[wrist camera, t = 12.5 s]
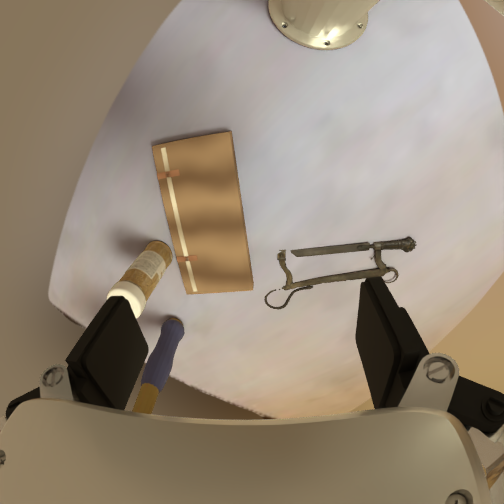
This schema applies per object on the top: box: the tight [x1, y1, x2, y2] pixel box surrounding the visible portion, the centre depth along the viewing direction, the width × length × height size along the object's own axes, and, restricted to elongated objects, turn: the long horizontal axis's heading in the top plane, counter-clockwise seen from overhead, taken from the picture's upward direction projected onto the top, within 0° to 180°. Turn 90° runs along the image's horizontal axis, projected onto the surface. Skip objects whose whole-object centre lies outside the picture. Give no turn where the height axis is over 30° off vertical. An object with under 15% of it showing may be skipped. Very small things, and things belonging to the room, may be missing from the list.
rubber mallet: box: [132, 318, 184, 414], centre depth 35 cm, size 12×8×30 cm, turn 85°
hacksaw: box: [265, 237, 416, 309], centre depth 42 cm, size 24×10×2 cm, turn 98°
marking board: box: [152, 131, 254, 294], centre depth 38 cm, size 22×10×2 cm, turn 7°
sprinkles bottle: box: [107, 241, 172, 319], centre depth 36 cm, size 5×5×13 cm
